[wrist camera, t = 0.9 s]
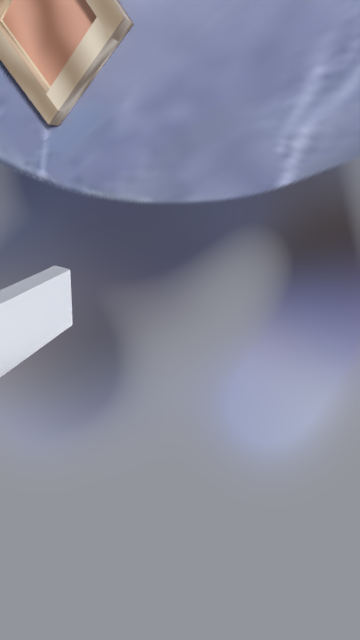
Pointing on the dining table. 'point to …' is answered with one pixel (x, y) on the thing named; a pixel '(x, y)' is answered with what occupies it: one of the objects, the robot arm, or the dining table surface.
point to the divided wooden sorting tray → (58, 48)
